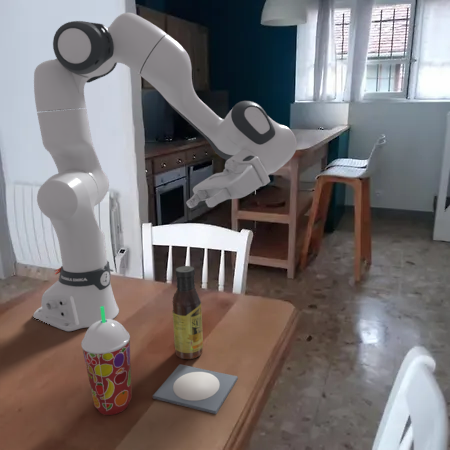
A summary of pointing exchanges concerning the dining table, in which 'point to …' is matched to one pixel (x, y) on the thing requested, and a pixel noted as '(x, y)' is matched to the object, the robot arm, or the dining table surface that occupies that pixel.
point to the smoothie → (108, 364)
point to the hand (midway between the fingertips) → (198, 204)
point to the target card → (196, 388)
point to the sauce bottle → (187, 315)
